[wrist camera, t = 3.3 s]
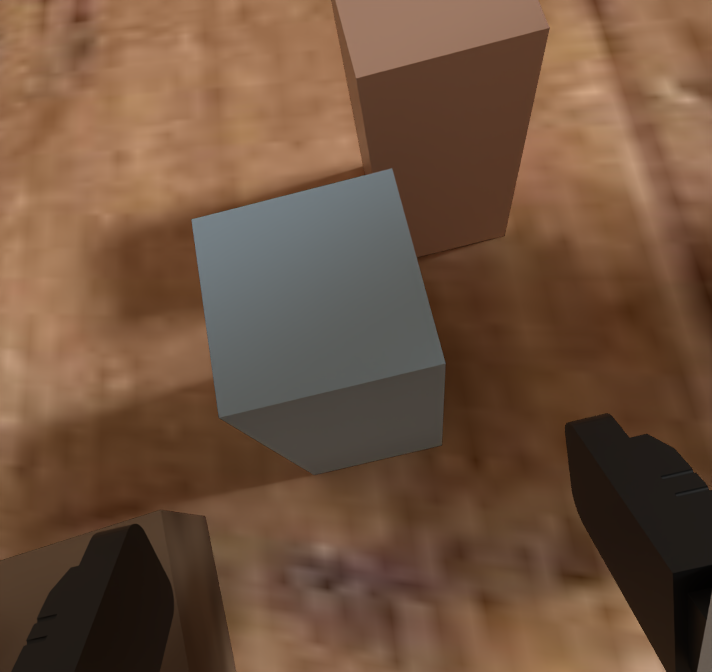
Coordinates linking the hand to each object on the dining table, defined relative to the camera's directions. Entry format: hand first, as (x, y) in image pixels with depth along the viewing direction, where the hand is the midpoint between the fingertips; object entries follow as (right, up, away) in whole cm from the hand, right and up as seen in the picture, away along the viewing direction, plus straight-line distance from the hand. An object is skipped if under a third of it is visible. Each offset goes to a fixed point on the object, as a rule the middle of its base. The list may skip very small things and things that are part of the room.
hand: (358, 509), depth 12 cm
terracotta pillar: (+3, +8, +13) cm, 16 cm away
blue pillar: (0, +1, +11) cm, 11 cm away
